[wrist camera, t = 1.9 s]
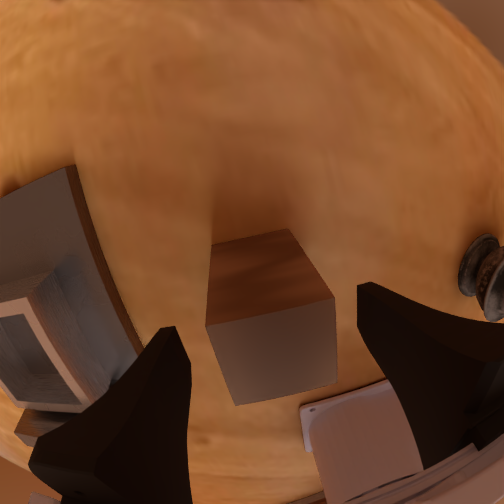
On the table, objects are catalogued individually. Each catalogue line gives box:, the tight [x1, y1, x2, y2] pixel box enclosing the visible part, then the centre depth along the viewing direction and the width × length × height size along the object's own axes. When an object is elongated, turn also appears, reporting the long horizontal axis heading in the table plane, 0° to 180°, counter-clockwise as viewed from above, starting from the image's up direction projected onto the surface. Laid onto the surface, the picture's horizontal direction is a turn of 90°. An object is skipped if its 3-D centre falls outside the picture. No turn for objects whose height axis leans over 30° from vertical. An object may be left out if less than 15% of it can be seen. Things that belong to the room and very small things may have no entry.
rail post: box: [205, 229, 337, 406], centre depth 13 cm, size 4×4×7 cm
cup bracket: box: [0, 165, 144, 447], centre depth 13 cm, size 14×18×6 cm
